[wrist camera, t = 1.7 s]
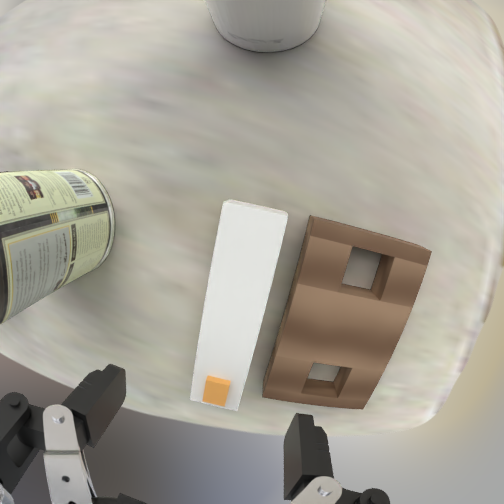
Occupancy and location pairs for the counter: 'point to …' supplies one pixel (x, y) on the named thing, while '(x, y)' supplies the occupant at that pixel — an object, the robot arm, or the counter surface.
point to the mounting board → (342, 316)
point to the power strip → (236, 300)
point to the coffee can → (49, 233)
